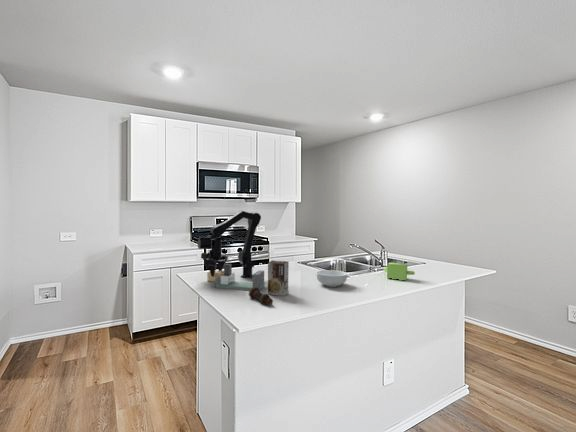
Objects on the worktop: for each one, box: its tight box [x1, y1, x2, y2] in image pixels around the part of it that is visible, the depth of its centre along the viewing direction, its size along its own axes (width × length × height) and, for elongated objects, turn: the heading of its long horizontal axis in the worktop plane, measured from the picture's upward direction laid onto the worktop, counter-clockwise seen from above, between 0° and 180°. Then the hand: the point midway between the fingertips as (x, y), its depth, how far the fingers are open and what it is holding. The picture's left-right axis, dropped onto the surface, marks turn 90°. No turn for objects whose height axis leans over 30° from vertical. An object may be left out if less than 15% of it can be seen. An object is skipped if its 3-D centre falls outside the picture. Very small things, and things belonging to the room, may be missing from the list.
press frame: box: [214, 270, 265, 291], centre depth 174 cm, size 10×24×8 cm, turn 76°
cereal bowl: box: [316, 269, 348, 288], centre depth 182 cm, size 17×17×7 cm
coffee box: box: [267, 260, 289, 297], centre depth 163 cm, size 9×6×16 cm
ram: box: [221, 263, 236, 285], centre depth 176 cm, size 9×4×10 cm, turn 166°
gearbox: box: [383, 262, 416, 281], centre depth 199 cm, size 18×10×10 cm, turn 62°
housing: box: [207, 270, 224, 282], centre depth 189 cm, size 6×8×5 cm
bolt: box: [248, 287, 274, 306], centre depth 150 cm, size 6×5×15 cm
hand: (216, 274), depth 189 cm, fingers open, 9 cm apart
